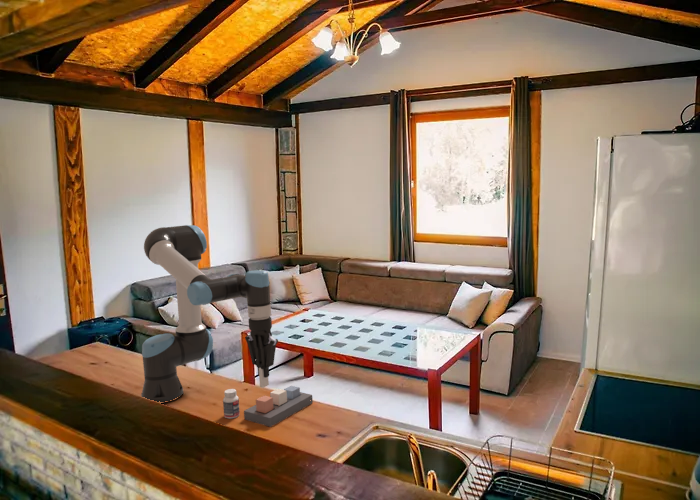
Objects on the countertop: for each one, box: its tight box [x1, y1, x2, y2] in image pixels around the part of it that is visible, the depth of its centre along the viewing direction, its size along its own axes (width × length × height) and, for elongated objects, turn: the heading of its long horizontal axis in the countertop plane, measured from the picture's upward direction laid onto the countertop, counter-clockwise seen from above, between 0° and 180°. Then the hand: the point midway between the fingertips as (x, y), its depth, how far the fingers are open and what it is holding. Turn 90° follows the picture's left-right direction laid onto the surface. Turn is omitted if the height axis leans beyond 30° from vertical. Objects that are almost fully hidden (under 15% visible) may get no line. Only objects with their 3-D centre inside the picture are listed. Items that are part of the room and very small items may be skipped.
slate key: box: [283, 385, 301, 399], centre depth 188 cm, size 4×4×4 cm
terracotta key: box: [255, 395, 273, 413], centre depth 176 cm, size 4×4×4 cm
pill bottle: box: [222, 388, 240, 420], centre depth 180 cm, size 5×5×9 cm
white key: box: [269, 388, 287, 406], centre depth 182 cm, size 4×4×4 cm
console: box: [243, 391, 314, 428], centre depth 182 cm, size 12×22×3 cm, turn 146°
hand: (264, 385), depth 176 cm, fingers closed
